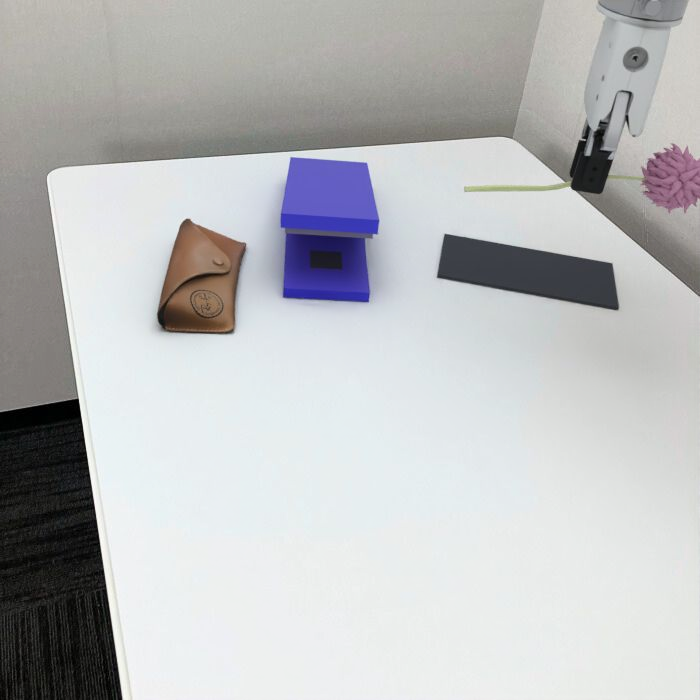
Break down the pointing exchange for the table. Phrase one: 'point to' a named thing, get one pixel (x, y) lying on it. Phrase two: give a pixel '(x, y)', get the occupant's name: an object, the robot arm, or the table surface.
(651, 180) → the artificial flower
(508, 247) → the runner
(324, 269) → the stapler
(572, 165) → the robot arm
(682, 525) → the table surface
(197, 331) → the sunglasses case
